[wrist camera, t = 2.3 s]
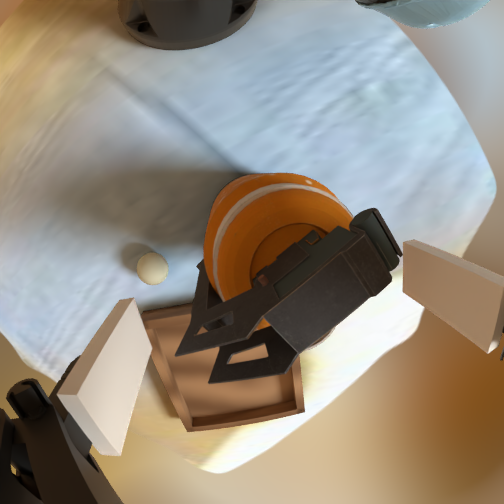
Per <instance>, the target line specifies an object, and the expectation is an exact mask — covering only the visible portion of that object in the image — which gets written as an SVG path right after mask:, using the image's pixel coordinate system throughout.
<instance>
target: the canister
mask: <svg viewBox="0 0 504 504" xmlns="http://www.w3.org/2000/svg"><path fill="white" fill-rule="evenodd" d="M203 250H204V259H203V260H202V261H201V262H200V263H199V264H198V265H197V266H196V267H197V268H198V269H199V270H200V271H199V276H198V281H197V287H196V292H195V298H194V300H193V305H192V310H191V321H190V324H189V326H188V328H187V330H186V332H185V335H184V337H183V339H182V341H181V343H180V345H179V347H178V349H177V351H176V353H175V355H174V356H175V357H178V356H182V355H187V354H191V353H195V352H199V351H204V350H208V349H212V348H216V347H219V352H218V355H217V358H216V361H215V364H214V366H213V369H212V372H211V375H210V378H209V381H208V384H216V383H226V382H234V381H242V380H249V379H256V378H263V377H269V376H276V375H282V374H286V373H287V372H288V370H289V369H290V367H291V366H292V364H293V363H294V361H295V360H296V358H297V357H298V355H299V354H300V353H302V352H303V351H306V350H309V349H312V348H314V347H316V346H317V345H319V344H320V343H322V342H323V341H324V340H326V339H327V338H328V337H329V336H330V335H331V333H332V332H333V331H334V329H335V327H336V326H337V325H338V324H339V323H340V322H342V321H343V320H344V319H345V318H346V317H348V316H349V315H350V314H351V313H352V312H354V311H355V310H356V309H357V308H358V307H360V306H361V305H362V304H363V303H364V302H365V301H366V300H368V299H369V298H370V297H373V296H376V295H377V294H379V293H380V292H381V291H382V290H383V289H384V288H385V287H386V286H387V285H388V284H390V283H391V282H392V276H391V274H390V272H389V271H392V270H393V269H395V268H396V267H397V266H398V264H399V258H398V256H397V255H399V256H400V257H401V256H402V255H403V254H402V252H401V250H400V248H399V246H398V244H397V243H396V241H395V239H394V237H393V235H392V233H391V232H390V230H389V228H388V226H387V225H386V223H385V221H384V219H383V218H382V216H381V214H380V213H379V211H378V209H376V208H370V209H367V210H364V211H362V212H360V213H359V214H357V215H356V216H355V217H353V215H352V214H351V212H350V211H349V210H348V209H347V207H346V206H345V205H344V204H342V203H341V202H340V201H339V199H338V198H337V197H336V196H335V195H334V194H333V193H332V192H331V191H330V190H329V189H328V188H327V187H325V186H324V185H322V184H320V183H319V182H317V181H316V180H313V179H311V178H308V177H306V176H302V175H298V174H293V173H264V174H250V175H245V176H242V177H239V178H237V179H235V180H233V181H231V182H230V183H228V184H227V185H226V186H225V187H224V188H223V189H222V190H221V191H220V192H219V194H218V195H217V197H216V199H215V201H214V203H213V206H212V209H211V212H210V217H209V221H208V225H207V229H206V233H205V240H204V247H203ZM201 327H204V328H205V329H206V330H207V331H208V332H205V333H201V334H198V335H197V333H198V332H199V330H200V329H201ZM255 329H257V331H255ZM264 344H265V346H266V349H267V353H268V357H265V358H260V359H254V360H249V361H243V362H237V363H231V364H228V363H229V361H230V360H231V358H232V356H233V355H235V354H238V353H241V352H244V351H247V350H250V349H253V348H256V347H259V346H262V345H264Z"/></svg>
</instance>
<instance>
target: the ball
mask: <svg viewBox="0 0 504 504" xmlns="http://www.w3.org/2000/svg"><path fill="white" fill-rule="evenodd" d="M137 274H138V276H139V278H140V279H141V280H142V281H143V282H144V283H146V284H149V285H157V284H160V283H161V282H163V281H164V280H165V278H166V277H167V274H168V263H167V261H166V259H165V258H164V257H163V256H162V255H160V254H158V253H154V252H151V253H147V254H145V255H143V256H142V257H141V258H140V260H139V261H138V264H137Z"/></svg>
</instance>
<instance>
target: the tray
mask: <svg viewBox="0 0 504 504" xmlns="http://www.w3.org/2000/svg"><path fill="white" fill-rule="evenodd" d="M192 305H193V303H189V304H183V305H177V306H171V307H166V308H160V309H154V310H148V311H143V313H142V315H141V319H142V322H143V325H144V328H145V330H146V333H147V336H148V338H149V341H150V343H151V346H152V351H151V354H150V355H151V357H152V359H153V362H154V364H155V366H156V369H157V371H158V373H159V375H160V378H161V380H162V382H163V384H164V386H165V388H166V391H167V393H168V395H169V397H170V399H171V401H172V403H173V405H174V407H175V409H176V411H177V413H178V415H179V417H180V419H181V421H182V423H183V425H184V426H185V428H186V430H187V432H194V431H204V430H213V429H221V428H228V427H235V426H241V425H247V424H253V423H258V422H263V421H268V420H273V419H278V418H282V417H286V416H291V415H295V414H299V413H303V412H305V408H304V397H303V387H302V377H301V367H300V357H299V355H298V357H297V358H296V360H295V361H294V363H293V364H292V366H291V367H290V369H289V370H288V372H287V373H286V374H282V375H276V376H269V377H263V378H256V379H249V380H242V381H234V382H226V383H216V384H208V381H209V378H210V375H211V372H212V369H213V366H214V364H215V361H216V358H217V355H218V352H219V347H216V348H212V349H208V350H204V351H199V352H195V353H191V354H187V355H182V356H178V357H175V356H174V355H175V353H176V351H177V349H178V347H179V345H180V343H181V341H182V339H183V337H184V335H185V332H186V330H187V328H188V326H189V324H190V321H191V310H192ZM255 331H257V329H255ZM205 332H208V331H207V330H206V329H205V328H204V327H201V329H200V330H199V332H198V333H197V335H198V334H201V333H205ZM265 357H268V353H267V349H266V346H265V344H264V345H262V346H259V347H256V348H253V349H250V350H247V351H244V352H241V353H238V354H235V355H233V356H232V358H231V360H230V361H229V363H228V364H231V363H237V362H243V361H249V360H254V359H260V358H265Z"/></svg>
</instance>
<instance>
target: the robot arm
mask: <svg viewBox="0 0 504 504" xmlns="http://www.w3.org/2000/svg"><path fill="white" fill-rule="evenodd" d="M355 1H356V2H357V3H358V5H360V6H362V7H365V8H369V9H374V10H376V11H378V12H380V13H382V14H384V15H386V16H388V17H390V18H392V19H394V20H396V21H398V22H400V23H402V24H404V25H407V26H410V27H415V28H436V27H438V26H441V25H442V26H446V25H450V24H453V23H456V22H458V21H460V20H463V19H465V18H467V17H469V16H470V15H472V14H474V13H475V12H477V11H478V10H480V9H481V8H482V7H483V6H485V4H486V3H488V2H489V1H490V0H355ZM256 4H257V0H118V13H119V16H120V19H121V21H122V23H123V25H124V26H125V28H126V29H127V31H128V32H129V33H130V34H131V35H132V36H133V37H134V38H135V39H136V40H138V41H139V42H141V43H143V44H145V45H148V46H151V47H155V48H159V49H167V50H184V49H192V48H198V47H202V46H206V45H209V44H212V43H215V42H218V41H220V40H222V39H224V38H226V37H228V36H230V35H232V34H233V33H235V32H236V31H238V30H239V29H240V28H241V27H242V26H243V25H244V24H246V22H247V21H248V20H249V19H250V17H251V16H252V14H253V12H254V10H255V8H256ZM403 293H405V294H406V295H408V296H409V297H411V298H412V299H414V300H415V301H417V302H418V303H419V304H421V305H422V306H424V307H425V308H427V309H428V310H430V311H431V312H432V313H434V314H435V315H437V316H438V317H439V318H441V319H442V320H444V321H445V322H446V323H448V324H449V325H450V326H452V327H453V328H454V329H456V330H457V331H459V332H460V333H461V334H463V335H464V336H465V337H467V338H468V339H469V340H471V341H472V342H473V343H474V344H476V345H477V346H478V347H480V348H481V349H482V350H484V351H485V352H486V353H489V352H491V351H492V350H493V349H495V348H497V347H498V346H499V342H500V339H501V336H502V332H503V333H504V277H503V276H501V275H499V274H496V273H494V272H492V271H490V270H488V269H485V268H483V267H481V266H478V265H476V264H474V263H472V262H469V261H467V260H464V259H462V258H460V257H457V256H455V255H452V254H450V253H448V252H445V251H443V250H440V249H438V248H435V247H432V246H430V245H427V244H425V243H422V242H420V241H417V240H410V241H406V242H403ZM151 351H152V346H151V343H150V341H149V338H148V336H147V333H146V330H145V328H144V325H143V322H142V319H141V316H140V314H139V311H138V308H137V305H136V302H135V299H134V298H129V299H123V300H119V301H118V303H117V304H116V306H115V307H114V308H113V310H112V311H111V313H110V314H109V315H108V317H107V318H106V320H105V321H104V322H103V324H102V325H101V327H100V328H99V330H98V331H97V332H96V334H95V335H94V337H93V338H92V340H91V341H90V343H89V344H88V346H87V347H86V349H85V350H84V352H83V353H82V355H79V356H78V357H77V358H76V359H75V360H74V361H72V362H71V363H70V365H69V366H68V368H67V369H66V371H65V373H64V374H63V375H62V377H61V380H59V381H58V383H57V385H56V386H55V388H54V389H53V391H52V393H51V394H50V396H49V397H47V395H46V393H45V392H44V390H43V389H42V387H41V385H40V384H39V382H38V381H37V380H36V379H33V378H32V379H25V380H22V381H20V382H18V383H16V384H15V385H14V386H13V387H12V388H11V389H10V390H9V392H8V393H7V397H6V399H7V401H8V402H9V404H10V405H11V407H12V408H13V410H14V411H15V412H16V414H17V415H18V416H19V418H16V419H10V418H9V417H8V415H7V414H6V412H5V411H4V410H3V409H1V408H0V504H123V502H122V501H121V499H120V498H119V497H118V495H117V494H116V492H115V491H114V489H113V488H112V487H111V485H110V483H109V482H108V480H107V479H106V477H105V476H104V474H103V472H102V470H101V469H100V467H99V465H98V464H97V462H96V460H95V459H94V457H93V456H92V455H91V454H90V453H89V451H90V448H91V445H92V444H93V446H94V447H95V448H96V449H97V450H98V452H99V453H100V454H101V455H114V456H120V455H121V451H122V448H123V444H124V440H125V437H126V433H127V429H128V426H129V422H130V419H131V415H132V412H133V408H134V405H135V401H136V398H137V395H138V391H139V388H140V385H141V382H142V378H143V375H144V372H145V369H146V366H147V363H148V360H149V357H150V354H151ZM503 357H504V348H503V351H502V354H501V357H500V360H503ZM11 465H12V466H13V467H14V468H15V469H16V475H15V474H13V473H12V471H11Z"/></svg>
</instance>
